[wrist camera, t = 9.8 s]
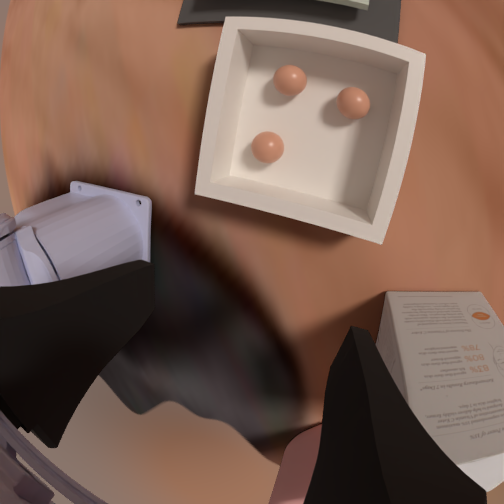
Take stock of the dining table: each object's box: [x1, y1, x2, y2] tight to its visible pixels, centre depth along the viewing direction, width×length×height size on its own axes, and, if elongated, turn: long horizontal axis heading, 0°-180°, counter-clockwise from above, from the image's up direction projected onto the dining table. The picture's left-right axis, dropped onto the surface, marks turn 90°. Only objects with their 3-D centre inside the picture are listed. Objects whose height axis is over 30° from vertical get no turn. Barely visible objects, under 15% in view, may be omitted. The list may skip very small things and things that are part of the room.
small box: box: [376, 291, 504, 492], centre depth 12 cm, size 8×6×13 cm
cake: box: [269, 424, 322, 504], centre depth 19 cm, size 20×20×14 cm
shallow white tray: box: [195, 17, 426, 245], centre depth 13 cm, size 10×10×4 cm
